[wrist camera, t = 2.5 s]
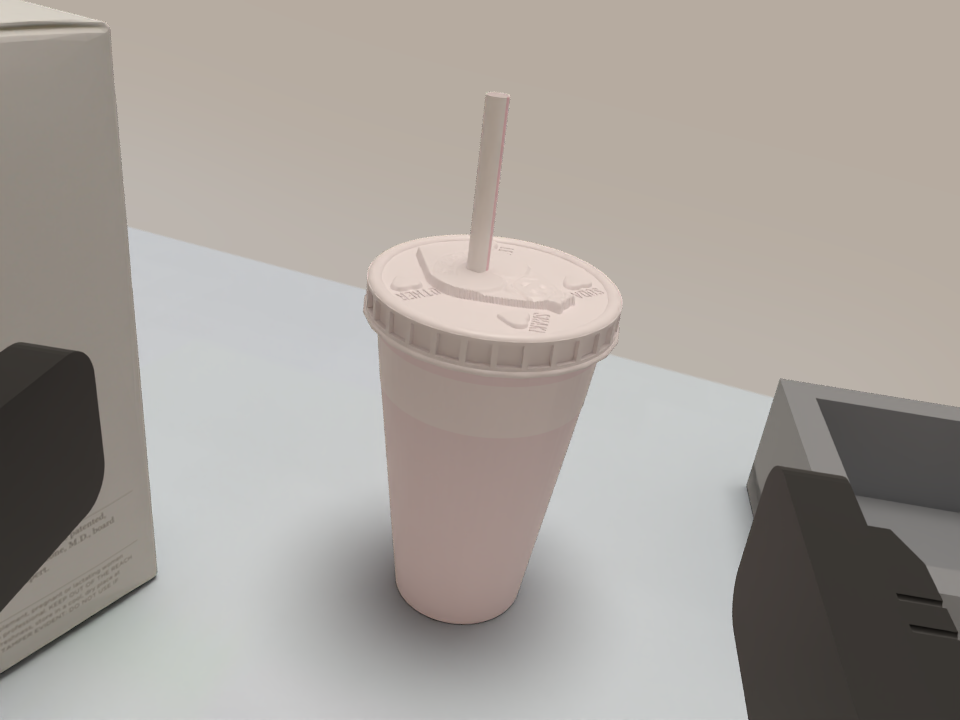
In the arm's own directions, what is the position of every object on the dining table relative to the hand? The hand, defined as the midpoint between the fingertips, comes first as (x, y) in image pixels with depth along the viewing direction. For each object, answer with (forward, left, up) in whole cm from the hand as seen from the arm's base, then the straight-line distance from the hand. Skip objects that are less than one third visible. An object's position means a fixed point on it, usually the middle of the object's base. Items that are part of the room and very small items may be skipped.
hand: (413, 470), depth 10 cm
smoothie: (0, +11, -12) cm, 17 cm away
